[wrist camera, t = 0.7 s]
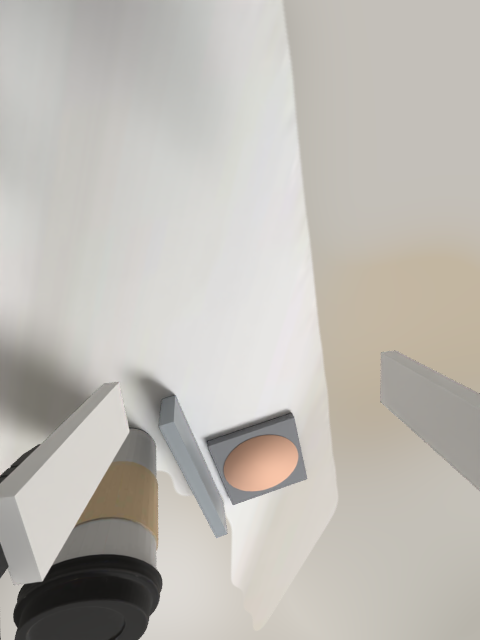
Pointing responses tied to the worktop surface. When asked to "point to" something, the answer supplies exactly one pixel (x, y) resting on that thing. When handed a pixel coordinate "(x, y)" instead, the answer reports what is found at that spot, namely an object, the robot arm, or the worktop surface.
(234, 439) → the mat
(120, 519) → the coffee cup
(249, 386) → the worktop surface
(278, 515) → the worktop surface
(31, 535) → the robot arm
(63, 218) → the worktop surface
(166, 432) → the blue-grey rectangular bar
